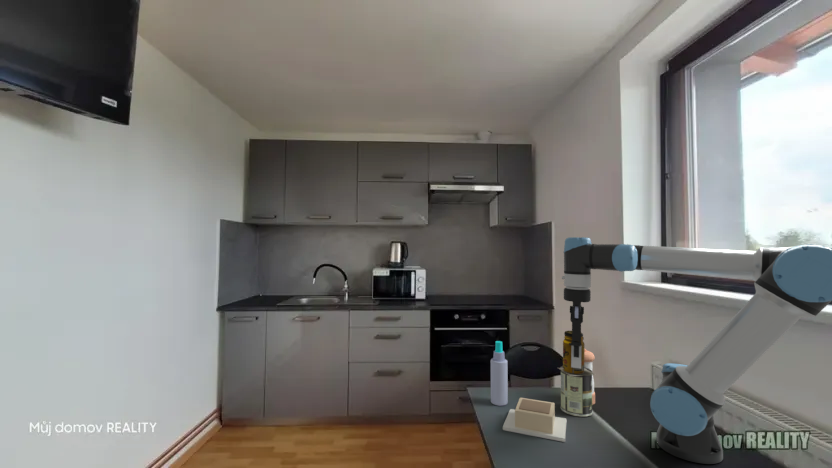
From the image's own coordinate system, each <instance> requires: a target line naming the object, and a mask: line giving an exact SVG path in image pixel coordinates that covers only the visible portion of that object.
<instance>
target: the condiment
mask: <svg viewBox="0 0 832 468" xmlns="http://www.w3.org/2000/svg"><path fill="white" fill-rule="evenodd" d="M563 334H564V336H563V340H562V366H563V368H560V367H557V369H559V370H560V372H561V371H563V372H564V373H566V374H568V375H570V376H583V375H593V376H594V375H595V376H596V375H597V374H596V373H594V372H593V371H592V372H590V371H588V370H587V369H585V368H584V349H585V346H586V345H585V342H584V340H583V337H584V333H582V332H581V369H580V368H573V367H571V345H569V343H571V342H572V330H565V331H564V333H563Z"/></svg>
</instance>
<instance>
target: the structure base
mask: <svg viewBox="0 0 832 468" xmlns="http://www.w3.org/2000/svg"><path fill="white" fill-rule="evenodd" d="M517 401H518V402H517V404H516V407H515V409H514V408H510V409H509V411H508V414H507V416H506V418H505V421H504V423H503V426H502V430H503V431H506V432H510V433H511V432H512V433H517V434H521V435H526V436H532V437H536V438H537V437H538V438H543V439H548V440H552V441H558V442H561V443H562V442H563V443H566V432H567V418H565V417H559V416H556V415H555V414H556V411H555V410H556V409H555V408H556V406H555V405H556V404H555V402H551V401H545V400H538V399H534V398H533V399H532V398H525V397H519V399H518V400H517Z"/></svg>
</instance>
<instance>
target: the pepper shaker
mask: <svg viewBox="0 0 832 468" xmlns="http://www.w3.org/2000/svg"><path fill="white" fill-rule="evenodd" d="M595 359H596V358H595V355H594V353H593V352H591V351H590V350H587V349H586V348H584V367H585V368H588V369H590V370H592V371H593V362H594V361H595ZM595 404H596V392H595V379H594V375H592V406H593V405H595Z"/></svg>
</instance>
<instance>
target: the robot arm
mask: <svg viewBox="0 0 832 468" xmlns="http://www.w3.org/2000/svg"><path fill="white" fill-rule="evenodd" d="M563 269H564V270H563V273H564V274H563V275H562V276H561V279H562V280H564V281H563V285H564V288H563V300H564V301H566V302H572V305H569V314H570V322H571V331H572V342H571V343H569V345H571V367H573V368H580V369H581V333H582V324H583V322H584V314H585V311H584V310H585V308H584V306H582V303H589V302H591V293H592V292H591V289H590V288H591V287H592V275H591V274H592V273H591V271H592V270H603V271H613V272H614V271H615V272H616V271H617V272H620V273H621V272H622V273H623V272H633V271H646V272H659V273H670V274H679V275H680V274H682V275H689V276H690V275H692V276H693V275H694V276H703V277H712V278H713V277H714V278H724V279H725V278H726V279H735V280H744V281H745V280H746V281H754V282H753V283H754V284H753V285H754V289H755V293H754V294H753V296H752V297H751V298H750V299H748V301H747V302H746V303H745V304H744V305H743V306H742V308H741V309H739V311H738V312H737V313H736V314H735V315H733V317H731V319H730V320H729V321H728V322H727V323H726V324H725V325H724V326H723V328H722V329H721V330H720V331H719V332H718V333H717V334H716V335H715V337H713V338H712V340H710V341H709V343H708V344H707V345H706V346H705V347H704V348H703V349H702V350H701V351H700V352H699V353H698V354H697V355H696V356H695V358H693V360H692V361H691V362H690V363H689V364H687V365H686V364H682V363H681V364H680V363H672V362H671V363H669V362H667V363H664V364H663V365H662V370H661V374H662V381H661V382H660V384H659V385H658V386H657V388H655V389H654V391H652V393H651V396H650V401H649V402H650V403H649V405H650V411H651V413H652V415H653V417H654V418H655V420H656V421H657V422H658V423H659V426H658V429H657V431H656V443H657V442H658V444H657V445H658V447H659V448H661V449H662V451H664V452H666V453H667V454H670V455H671V456H674V457H676V458H679V459H681V460H685V461H688V462H693V463H696V464H705V465H715V464H719V463H721V462H722V461H723V460H724V450H723V447H722V443H721V441H720V439H719V436H718V434H717V431H716V429H715V428H716V427H715V417H714V416H715V414H716V413H717V412H719V410H720V409H722V407H723V406H725V405H726V399H725V395H724V394H725V392H726V391H728V390H729V389H730V388H731V387H732V386H733V385H734V384H735V383H736V382H737V381H738V380H739V379H740V378H741V377H742V376H743V375H744V374H745V373H746V372H747V371H748V370H749V369H750V368H751V367H752V366H753V365H754V364H755V363H756V362H757V361H758V360H759V359H760V358H761V357H762V356H763V355H764V354H765V353H766V352H767V351H769V349H771V347H773V346H774V345H775V343H777V342H778V341H779V339H781V338H782V337H783V336H784V334H785V333H787V331H789V329H791V328H792V327H793V326H794V325H795V324H796V323H797V322H798V321H799V320H800V319H802V318H815V317H816V316H818V314H819V313H821V312H822V311H823V310H824V309H825V308H826V307H827V306H828V305H829V304H830V303H831V302H832V248H830V247H828V246H825V245H824V244H823V245H822V244H817V243H816V244H815V243H805V244H798V245H795V246H788V247H786V246H785V247H759V248H758V249H756V250H740V249H739V250H738V249H737V250H736V249H716V248H699V247H698V248H697V247H696V248H694V247H677V246H676V247H675V246H661V245H660V246H658V245H657V246H656V245H655V246H654V245H639V244H637V245H636V244H628V243H627V244H625V243H623V244H622V243H619V244H618V243H617V244H614V243H611V244H608V243H606V244H603V243H601V244H599V243H598V244H596V243H592V239H591V238H590V237H583V236H582V237H580V236H579V237H578V236H577V237H567V238H566V239H565V240H564V247H563ZM584 340H585V339H584V336H583V341H584Z"/></svg>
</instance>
